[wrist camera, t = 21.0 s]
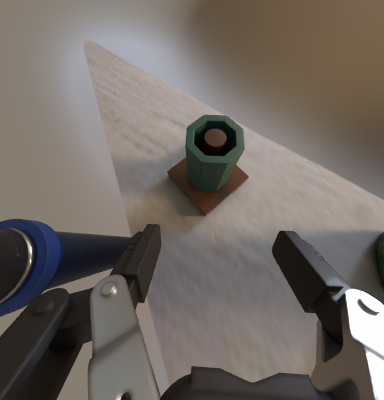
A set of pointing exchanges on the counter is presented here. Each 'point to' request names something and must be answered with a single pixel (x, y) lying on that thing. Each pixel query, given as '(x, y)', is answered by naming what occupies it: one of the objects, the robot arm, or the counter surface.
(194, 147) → the green octagonal tube
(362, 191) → the counter surface
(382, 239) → the coffee jar
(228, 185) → the peg stand
